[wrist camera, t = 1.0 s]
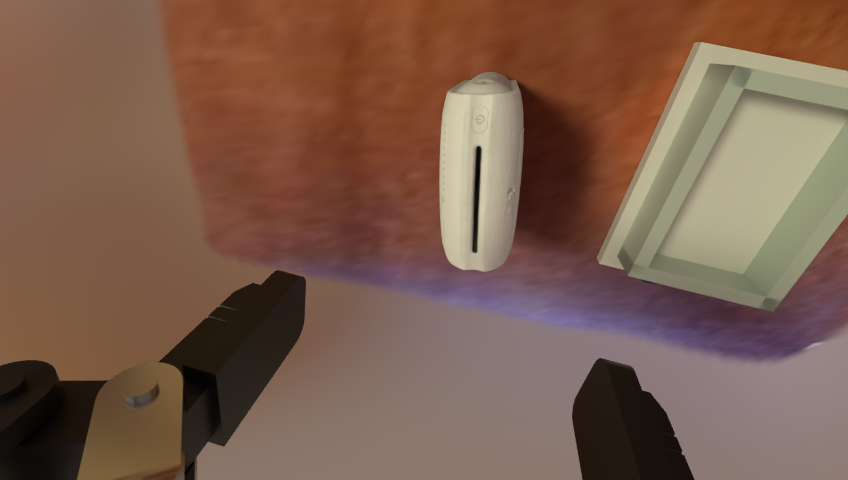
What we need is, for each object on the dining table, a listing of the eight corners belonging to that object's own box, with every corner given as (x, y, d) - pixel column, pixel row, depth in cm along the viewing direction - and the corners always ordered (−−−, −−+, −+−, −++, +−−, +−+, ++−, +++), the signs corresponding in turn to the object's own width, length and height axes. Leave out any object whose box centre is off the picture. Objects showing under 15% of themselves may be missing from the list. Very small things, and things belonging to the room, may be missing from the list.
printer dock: (694, 42, 25) (726, 41, 21) (897, 82, 24) (967, 88, 20) (596, 257, 32) (607, 283, 28) (748, 295, 31) (779, 326, 27)
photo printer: (459, 70, 28) (430, 84, 17) (521, 69, 27) (533, 84, 16) (457, 205, 32) (432, 286, 21) (510, 208, 32) (513, 293, 21)
